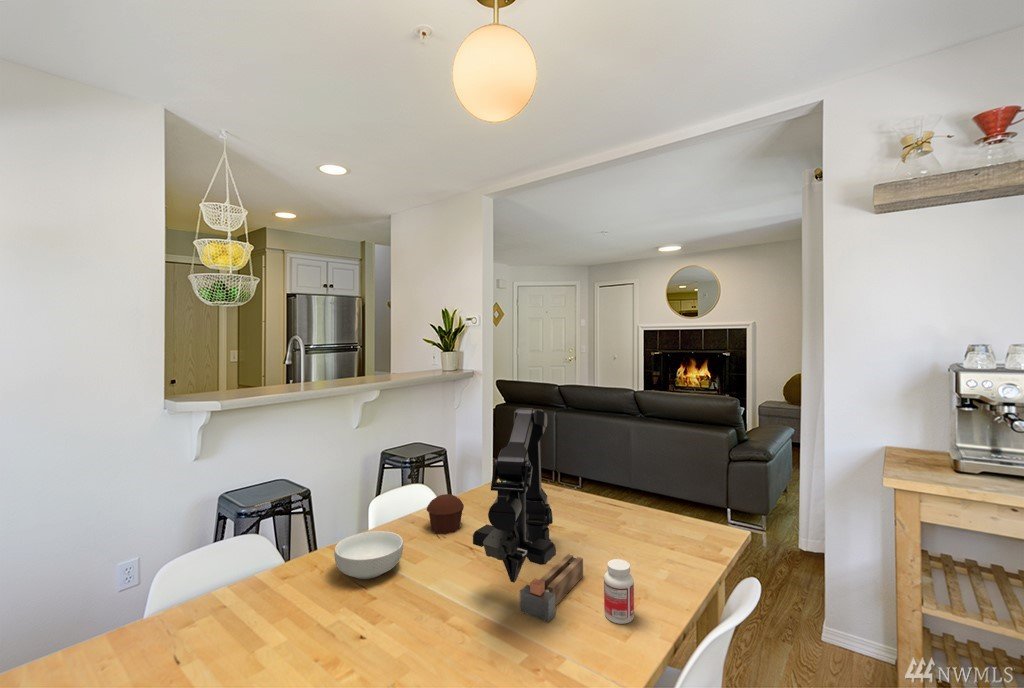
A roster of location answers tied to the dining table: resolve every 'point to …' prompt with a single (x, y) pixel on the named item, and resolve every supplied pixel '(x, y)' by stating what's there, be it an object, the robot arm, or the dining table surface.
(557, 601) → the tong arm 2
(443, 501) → the muffin
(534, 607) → the grey block
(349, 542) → the cereal bowl
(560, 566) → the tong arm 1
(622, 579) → the pill bottle
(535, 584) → the tab
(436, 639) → the dining table surface
